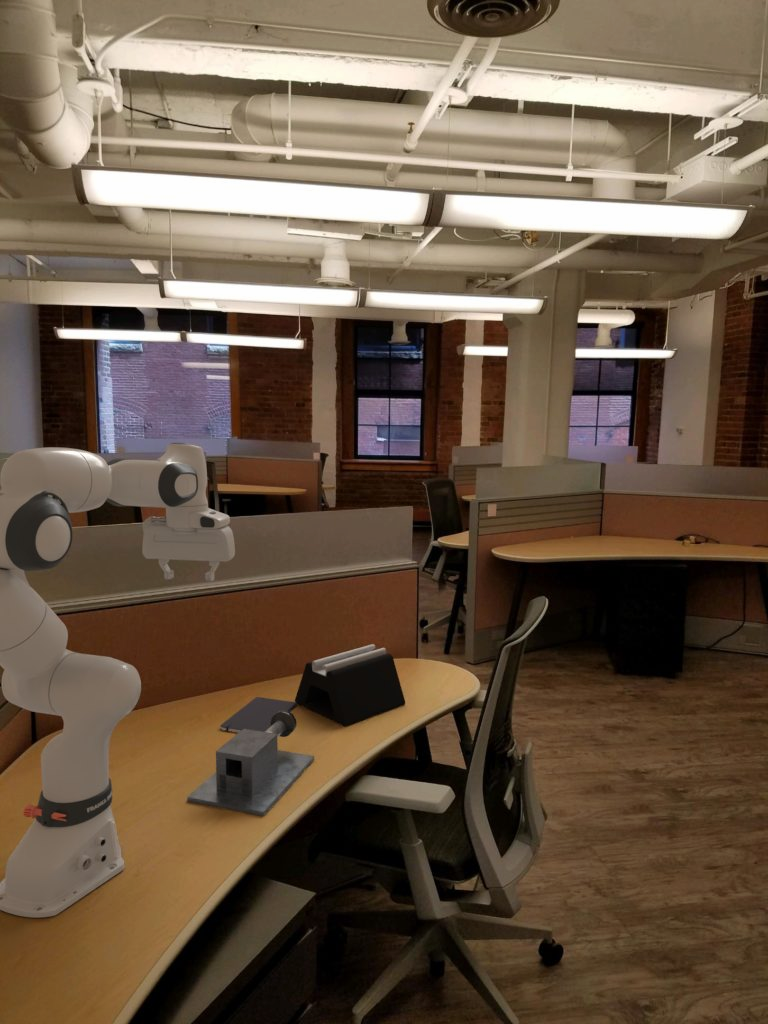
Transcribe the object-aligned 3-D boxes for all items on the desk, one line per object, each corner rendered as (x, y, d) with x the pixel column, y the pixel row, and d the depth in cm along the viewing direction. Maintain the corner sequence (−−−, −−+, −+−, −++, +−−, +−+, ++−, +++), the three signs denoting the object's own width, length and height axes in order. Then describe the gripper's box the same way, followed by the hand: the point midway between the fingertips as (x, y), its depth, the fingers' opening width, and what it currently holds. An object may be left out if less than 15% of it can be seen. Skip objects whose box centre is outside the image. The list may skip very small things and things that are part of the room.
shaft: (257, 772, 155) (257, 746, 154) (233, 768, 157) (233, 742, 156) (296, 735, 174) (296, 711, 173) (274, 731, 175) (274, 708, 175)
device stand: (294, 703, 204) (294, 653, 202) (353, 684, 220) (353, 637, 218) (345, 728, 188) (345, 673, 186) (405, 705, 204) (405, 655, 202)
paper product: (263, 738, 182) (296, 707, 202) (262, 732, 182) (296, 702, 202) (219, 731, 186) (256, 701, 206) (218, 726, 185) (256, 696, 206)
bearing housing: (263, 816, 145) (263, 769, 144) (187, 801, 150) (186, 756, 149) (314, 759, 169) (314, 719, 168) (247, 748, 175) (246, 709, 174)
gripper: (135, 518, 152) (138, 581, 154) (226, 520, 149) (227, 584, 151) (149, 514, 158) (151, 574, 160) (236, 516, 155) (238, 578, 157)
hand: (189, 579), depth 156 cm, fingers open, 8 cm apart
